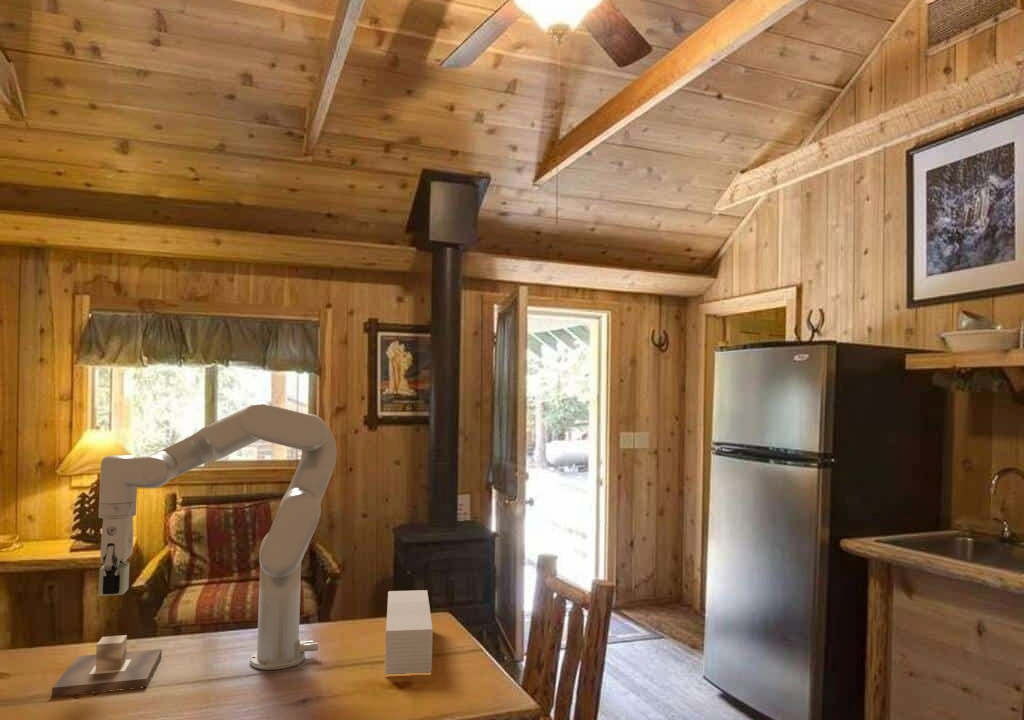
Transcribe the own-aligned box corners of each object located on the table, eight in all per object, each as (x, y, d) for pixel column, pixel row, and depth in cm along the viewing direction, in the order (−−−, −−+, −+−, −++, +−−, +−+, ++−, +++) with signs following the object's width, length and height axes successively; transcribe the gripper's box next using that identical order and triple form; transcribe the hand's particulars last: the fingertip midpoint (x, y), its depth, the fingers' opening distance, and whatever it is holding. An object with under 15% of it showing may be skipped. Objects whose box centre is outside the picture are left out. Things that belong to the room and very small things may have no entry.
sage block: (128, 588, 162) (129, 562, 163) (123, 594, 158) (124, 567, 158) (104, 589, 161) (105, 563, 161) (98, 596, 156) (99, 568, 157)
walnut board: (161, 657, 170) (161, 648, 170) (146, 687, 153) (146, 678, 153) (76, 664, 165) (77, 655, 165) (51, 697, 147) (52, 687, 147)
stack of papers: (431, 676, 162) (432, 629, 163) (384, 678, 160) (386, 630, 161) (426, 629, 194) (427, 590, 194) (387, 630, 192) (388, 591, 193)
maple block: (125, 661, 162) (126, 635, 162) (120, 669, 157) (121, 642, 157) (101, 663, 160) (102, 636, 161) (95, 671, 156) (96, 644, 156)
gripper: (127, 515, 153) (123, 599, 152) (143, 503, 169) (140, 579, 169) (88, 516, 151) (84, 602, 150) (108, 504, 167) (105, 581, 166)
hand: (114, 589), depth 159 cm, fingers closed on sage block, 4 cm apart
